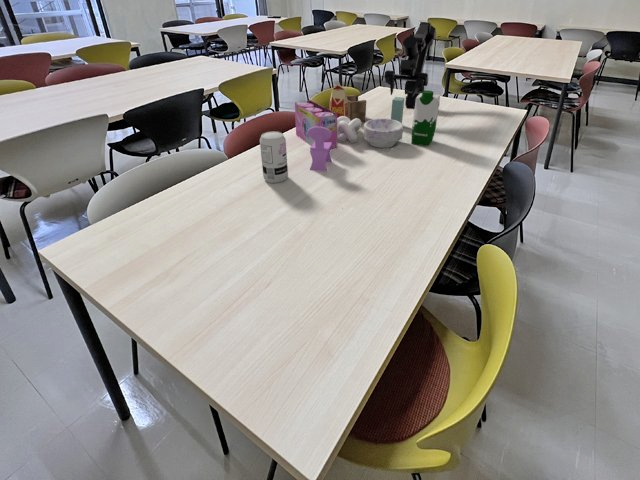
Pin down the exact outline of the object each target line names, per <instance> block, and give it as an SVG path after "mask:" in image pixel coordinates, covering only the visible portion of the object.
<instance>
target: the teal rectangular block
mask: <svg viewBox="0 0 640 480" xmlns="http://www.w3.org/2000/svg"><path fill="white" fill-rule="evenodd" d="M405 100H406V97H399V96H395V97H394V98H392V102H391V114H390V119H392V120H396V121H399V122H401V123H402V124H403V118H404V117H403V115H404V108H405Z"/></svg>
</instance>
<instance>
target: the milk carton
mask: <svg viewBox="0 0 640 480" xmlns="http://www.w3.org/2000/svg"><path fill="white" fill-rule="evenodd" d="M347 96H348V94H347V89H346V88H345V87H343V86H342V85H341V84H340V82H339V81H338V82H337V85H336V86H335V87H333V88H332V89H331V94H330V99H329V104H328V105H329V107H328V110H330V111H332V112H334V113H336V114H337V118H339V117H341V116H346V117H348V118H349V112H348V101H347ZM339 133H340V130H339Z"/></svg>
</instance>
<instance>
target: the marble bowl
mask: <svg viewBox="0 0 640 480" xmlns="http://www.w3.org/2000/svg"><path fill="white" fill-rule="evenodd" d="M403 133H404V124H403V122H402V123H401V122H399V121H396V120H392V119H391V118H374V119H373V118H372V119H369V120H368V121H367V120H366V121H365V122H364V124H363V138H364V139H365V140H366V141H368V143H369V145H371V146H373V147H375V148H381V149H384V148H385V149H386V148H390V147H393V146H394V145H396V143H397V142H400V140H402V139H403Z"/></svg>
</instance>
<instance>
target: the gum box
mask: <svg viewBox="0 0 640 480" xmlns="http://www.w3.org/2000/svg"><path fill="white" fill-rule="evenodd" d="M294 116H295V117H294V118H295V119H294V120H295V135H296V136H298V137H299V138H300V139H302V140H303V142H305V143H307V144H308V145H310V147H311V146H312V145H313V143H314V141H315V140H313V139H312V138H311V137H309V135H308V129H309V128H311V127H315V126H319V127H325V128H327V129H329V130H330V131H331V132H332V135H331V137H330V138H329V139H328V140H326V141H325V142H332V148H331V150H335V149H337V147H338V141H337V114H336V113H334V112H332V111H330V110H329V108H326V107H325V106H323V105H321V104H319V103H318V102H315V101H313V100H310V99H308V100H306V102H299V103H297V102H294ZM331 150H330V151H331Z"/></svg>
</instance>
